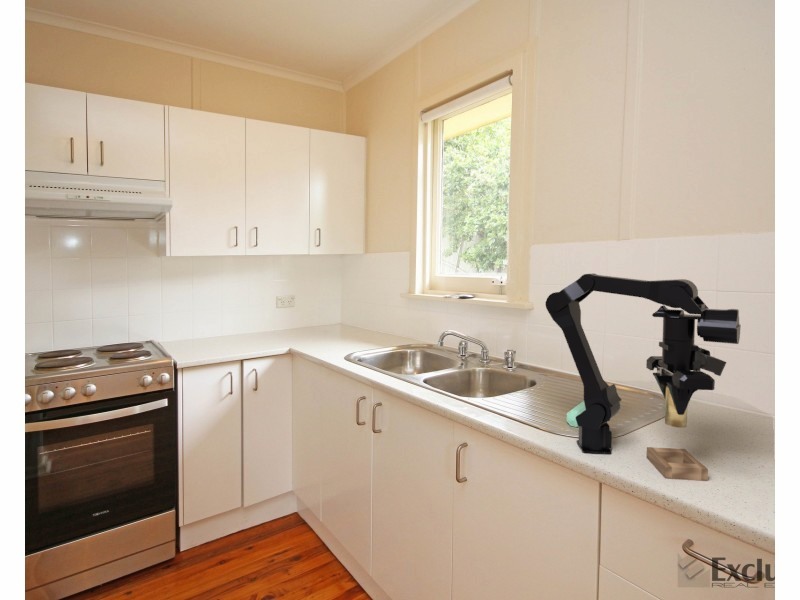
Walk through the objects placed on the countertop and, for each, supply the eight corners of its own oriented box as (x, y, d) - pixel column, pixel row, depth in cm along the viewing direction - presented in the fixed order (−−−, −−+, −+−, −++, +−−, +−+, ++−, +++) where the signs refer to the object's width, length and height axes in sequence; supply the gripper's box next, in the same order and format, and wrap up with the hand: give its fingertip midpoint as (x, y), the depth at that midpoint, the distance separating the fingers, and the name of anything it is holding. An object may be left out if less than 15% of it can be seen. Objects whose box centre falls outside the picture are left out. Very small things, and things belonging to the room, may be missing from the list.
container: (578, 407, 120) (608, 385, 139) (558, 411, 124) (589, 389, 143) (587, 429, 119) (615, 404, 138) (566, 432, 123) (596, 407, 142)
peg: (669, 427, 95) (670, 389, 94) (661, 420, 98) (662, 384, 98) (690, 427, 94) (691, 390, 93) (681, 421, 98) (682, 385, 97)
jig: (665, 478, 93) (665, 466, 93) (646, 457, 103) (646, 447, 103) (707, 480, 92) (707, 469, 92) (684, 459, 102) (684, 448, 101)
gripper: (746, 347, 84) (743, 428, 85) (699, 332, 102) (696, 399, 104) (681, 347, 86) (679, 426, 87) (646, 332, 104) (644, 397, 106)
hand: (676, 411), depth 96 cm, fingers closed on peg, 4 cm apart
